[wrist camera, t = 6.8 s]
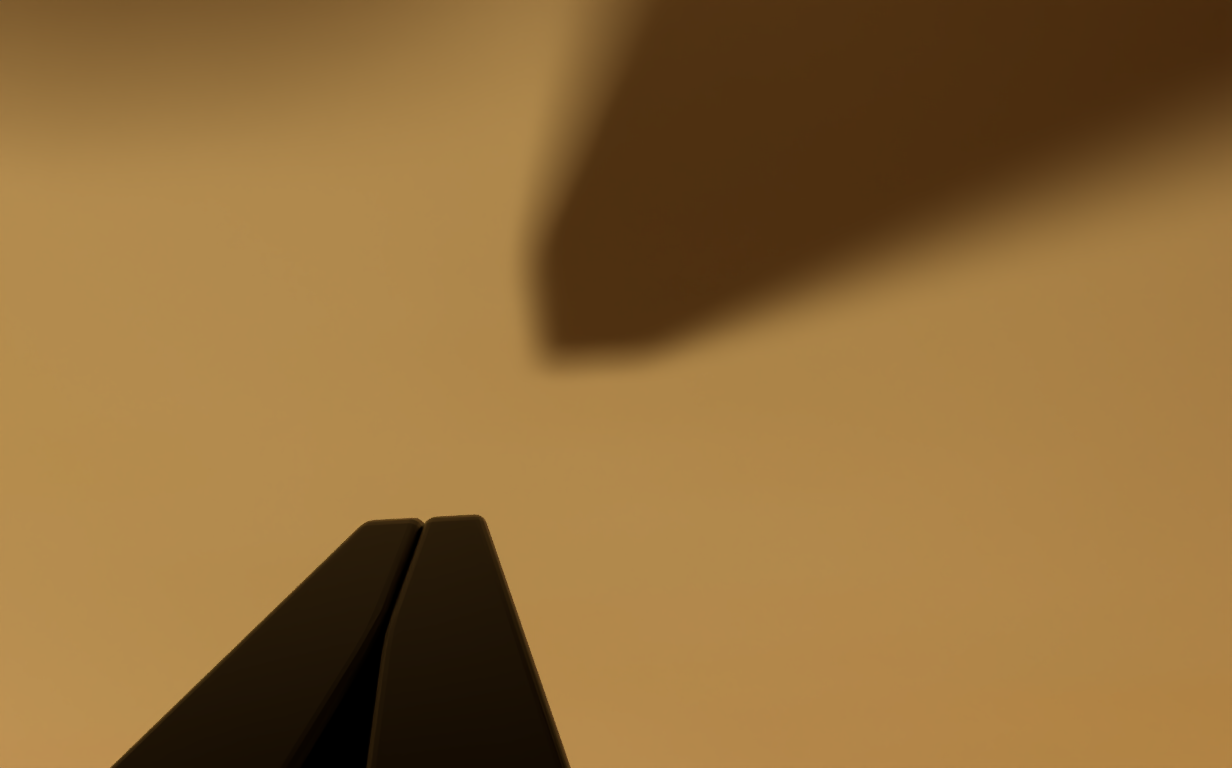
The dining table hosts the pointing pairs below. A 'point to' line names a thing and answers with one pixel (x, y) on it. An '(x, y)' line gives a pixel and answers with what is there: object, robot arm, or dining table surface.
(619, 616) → the dining table surface
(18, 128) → the dining table surface
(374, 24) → the dining table surface
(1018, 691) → the dining table surface
